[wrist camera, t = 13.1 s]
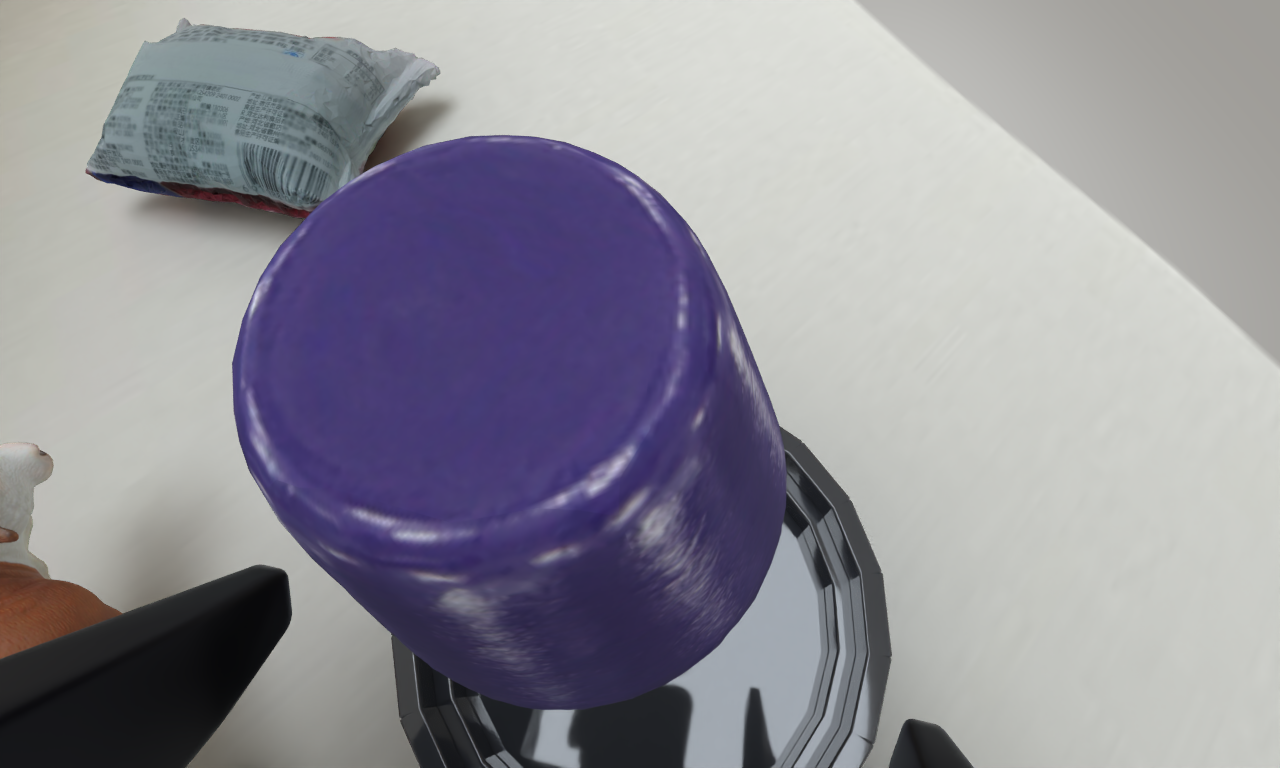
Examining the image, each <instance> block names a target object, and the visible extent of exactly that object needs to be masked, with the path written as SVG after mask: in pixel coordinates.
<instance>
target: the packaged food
mask: <svg viewBox="0 0 1280 768" xmlns="http://www.w3.org/2000/svg"><path fill="white" fill-rule="evenodd" d="M439 74H440V70H439V68H438V67H437V66H435V64H434V63H432V62H429V61H427V60H425V59H423V58H418V57H416V56H415V54H413V53H408V52H404V51H401V50H399V49H397V48H394V49H391V50H388V51H375V50H373V49H371V48H369V47H368V46H366V45H365V44H363V43H361V42H359V41H357V40H356V39H351V38H342V37H316V38H308V37H307V36H303V37H302V36H297V35H293V34H288V33H283V32H275V31H261V30H249V29H238V28H225V27H220V26H212V25H204V24H200V25H195V24H194V25H193V26H192V25H191V24H190V23H189V21H188V20H186V19H185V18H183V19H182V20H180V22H179V24H178V26H177V30H176V33H174V34H172V35H170V36H168V37H166V38H164V39H162V40H161V41H159V42H157V43H149V42H146V41H144V43H143V45H142V47H141V49H140V51H139V53H138V55H137V56H136V58H135V60H134V62H133V65H132V67H131V69H130V71H129V73H128V76H127V78H126V80H125V82H124V83H123V86H122V88H121V90H120V92H119V94H118V96H117V99H116V101H115V103H114V105H113V107H112V109H111V112H110V114H109V116H108V118H107V120H106V121H105V123H104V126H103V131H102V137H101V139H100V141H99V143H98V145H97V147H96V149H95V152H94V154H93V155H92V156H91V158H90V160H89V161H88V163H87V166H88V167H87V168H86V173H87V174H89V175H91V176H93V177H94V178H95V179H97V180H100V181H103V182H106V183H112V184H117V185H120V186H124V187H127V188H132V189H135V190H139V191H143V192H149V193H156V194H161V195H168V196H175V197H184V198H195V199H202V200H208V201H218V202H224V203H226V202H236V203H238V204H241V205H243V206H246V207H249V208H255V209H262V210H265V211H269V212H276V213H282V214H286V215H289V216H292V217H296V218H307V217H308V215H309V214H310V213H311V212H312V211H313V210H314V209H315V208H316V207H317V206H318V205H319V204H320V203H321V202H323V201H324V200H325V199H327V198H328V197H329V196H331V195H332V194H333V193H335V192H336V191H337V190H339V189H340V188H341V187H343V186H344V185H345V184H347V183H348V182H349V181H351V180H353V179H354V178H356V177H358V176H359V175H361V174H363V170H364V166H365V163H366V161H367V159H368V156H369V155H370V154H371V153H372V152H373V150H374V149H375V146H376V144H377V142H378V140H379V139H380V138H381V137H382V136H383V134H384V132H385V130H386V129H387V127H388V126H389V125H390V124H391V123H392V122H394V120H395V119H396V117H397V116H398V114H399V113H400V111H401V110H402V109H403V108H404V107H405V106H406V104H407V103H408V102H409V101H410V100H412V99H413V98H414V96H415V93H416V92H417V91H418V89H419V88H421V87H423V86H428V85H429V83H430V80H434V79H436V76H437V75H439Z"/></svg>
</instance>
